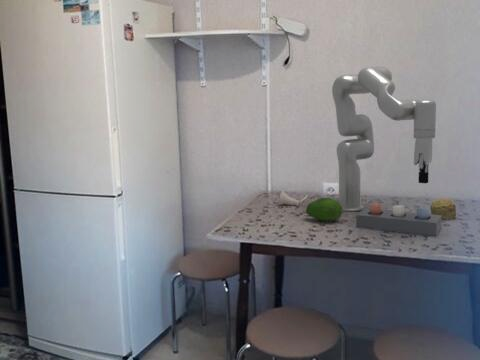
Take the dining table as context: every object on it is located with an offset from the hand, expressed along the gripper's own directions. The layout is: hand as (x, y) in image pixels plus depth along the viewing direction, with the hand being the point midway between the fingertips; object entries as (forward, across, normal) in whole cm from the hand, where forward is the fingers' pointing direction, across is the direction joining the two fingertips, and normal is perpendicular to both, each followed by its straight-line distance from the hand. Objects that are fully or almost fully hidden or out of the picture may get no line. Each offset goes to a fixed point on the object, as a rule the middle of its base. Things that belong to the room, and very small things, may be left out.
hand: (423, 182), depth 184 cm
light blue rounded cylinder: (+15, 0, 0) cm, 15 cm away
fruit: (+18, +2, -39) cm, 43 cm away
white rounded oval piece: (+15, 0, -9) cm, 17 cm away
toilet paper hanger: (+18, -25, -66) cm, 73 cm away
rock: (+19, -22, +4) cm, 29 cm away
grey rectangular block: (+18, 0, -9) cm, 21 cm away
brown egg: (+15, 0, -18) cm, 23 cm away
